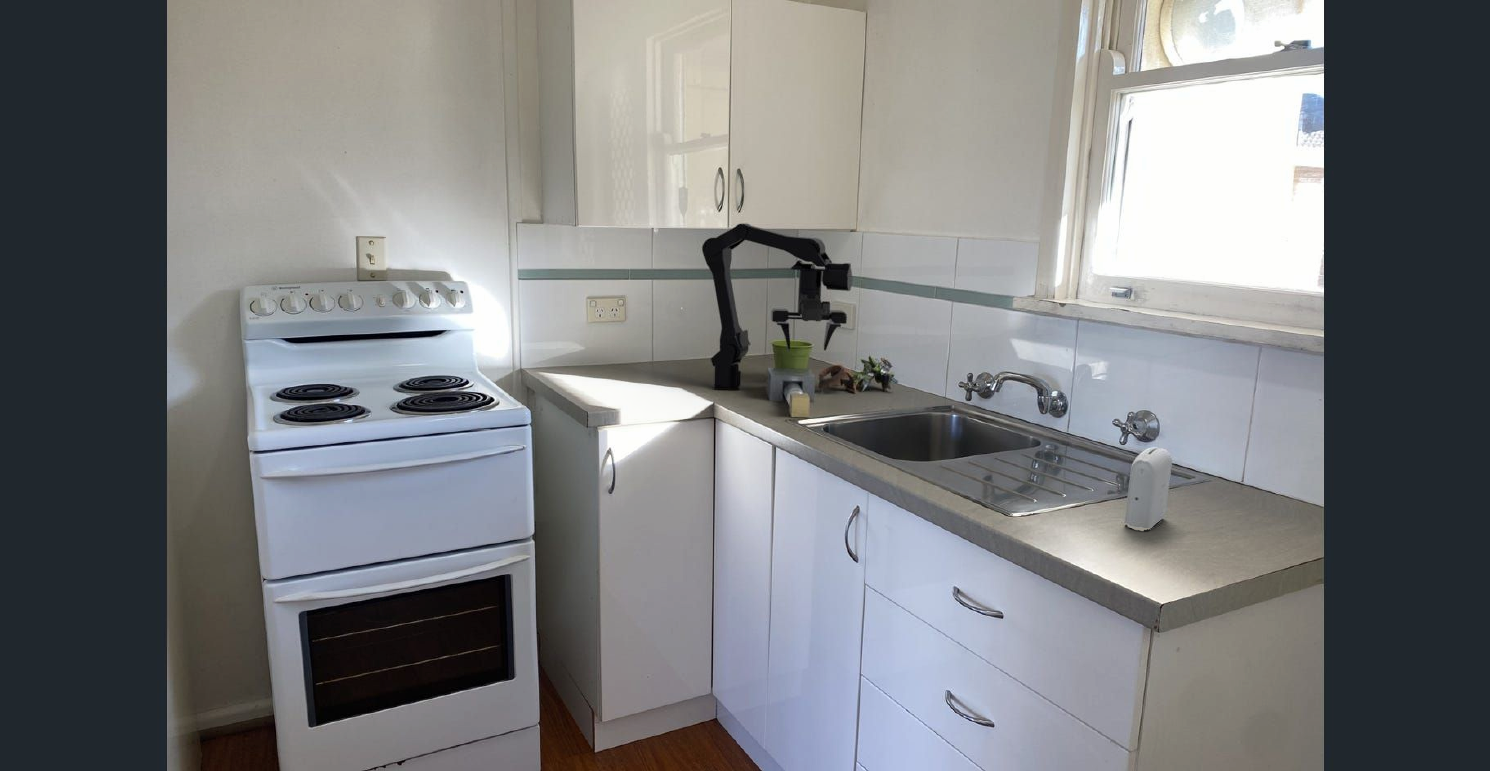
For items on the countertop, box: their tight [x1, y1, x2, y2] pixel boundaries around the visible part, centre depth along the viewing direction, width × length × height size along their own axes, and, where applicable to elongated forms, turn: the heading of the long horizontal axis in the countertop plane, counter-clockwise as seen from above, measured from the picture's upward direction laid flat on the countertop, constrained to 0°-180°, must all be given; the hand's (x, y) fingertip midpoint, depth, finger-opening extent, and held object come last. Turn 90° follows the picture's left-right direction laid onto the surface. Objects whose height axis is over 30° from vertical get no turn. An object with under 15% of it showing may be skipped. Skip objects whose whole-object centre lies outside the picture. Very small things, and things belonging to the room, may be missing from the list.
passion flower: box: [847, 355, 899, 393], centre depth 245 cm, size 11×11×12 cm
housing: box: [766, 367, 816, 403], centre depth 234 cm, size 11×11×6 cm
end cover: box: [783, 383, 811, 418], centre depth 219 cm, size 18×4×5 cm, turn 3°
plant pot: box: [770, 339, 815, 369], centre depth 250 cm, size 12×12×11 cm
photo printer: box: [1124, 446, 1173, 528], centre depth 146 cm, size 10×4×12 cm, turn 140°
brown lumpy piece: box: [818, 364, 857, 394], centre depth 243 cm, size 12×10×8 cm
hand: (806, 349), depth 234 cm, fingers open, 9 cm apart
